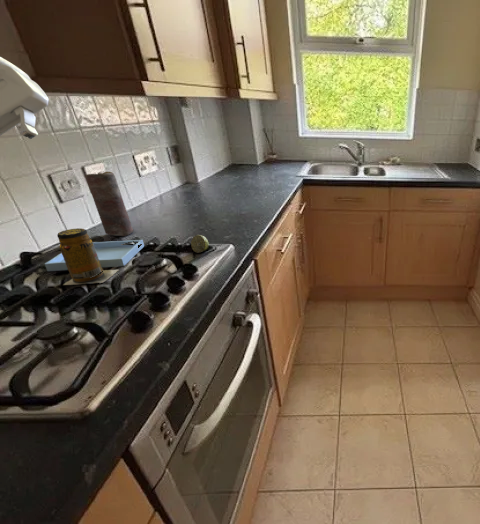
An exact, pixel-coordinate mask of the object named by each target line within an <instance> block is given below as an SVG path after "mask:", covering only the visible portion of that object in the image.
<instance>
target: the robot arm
mask: <svg viewBox="0 0 480 524" xmlns="http://www.w3.org/2000/svg"><path fill="white" fill-rule="evenodd" d="M48 106H49V97H48V95H47V94H46V92H45V90H43V89H42V88H41V86H40V85H39V84H38V83H37V82H36V81H34V80H32V78H31V77H30V76H29V74H28V73H26V72H24V71H23V70H22V69H21V68H20V67H18V66H17V65H15V64H13V63H11V62H10V61H9V60H7V59H5V58H3V56H0V137H1V136H2V135H4V134H5V133H7V132H9V131H10V130H12V129H13V128H15V127H17V130H18V131H19V132H20V134H21V136H23V137H25V138H28V139H29V140H31V139H34V138H35V137H37V136H38V135H39V133H38V131H37V130H36V118H37V117H36V115H35V114H37V113H39V112H40V111H42V110H44V109H45V108H47V107H48ZM18 125H19V126H18Z"/></svg>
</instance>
